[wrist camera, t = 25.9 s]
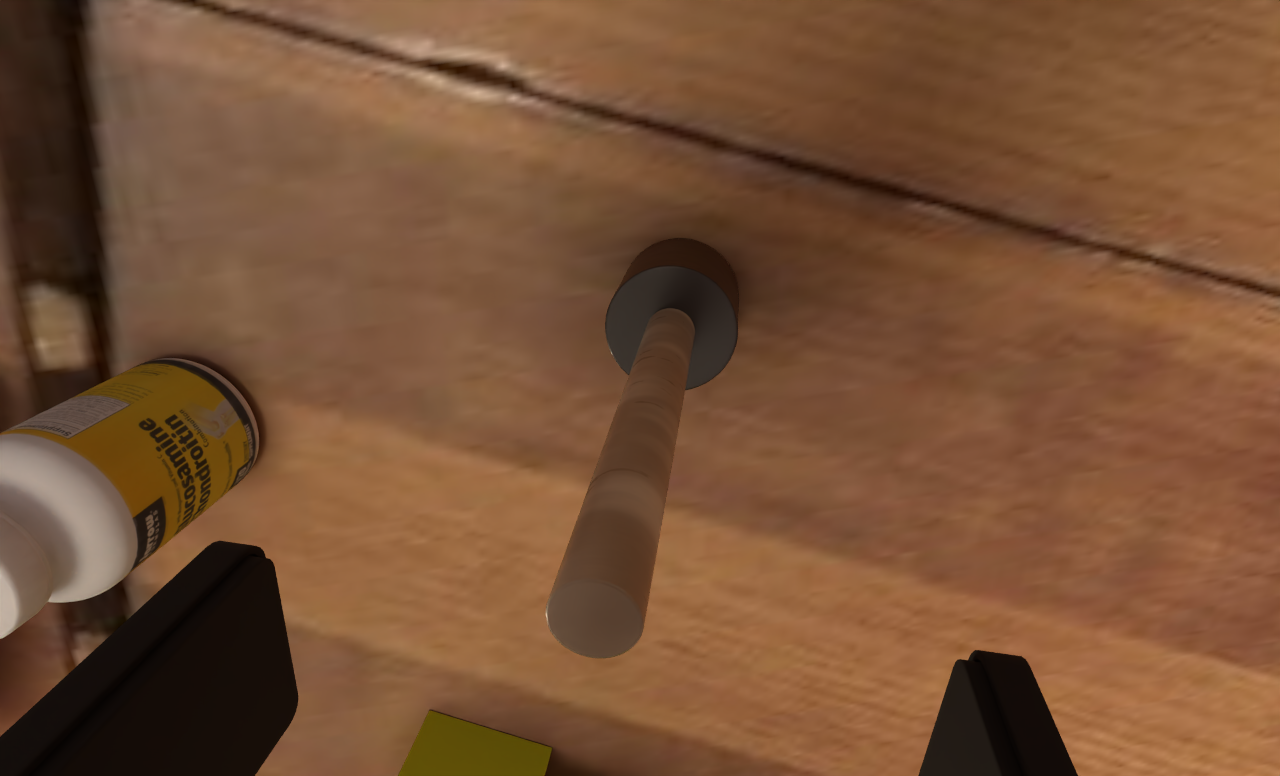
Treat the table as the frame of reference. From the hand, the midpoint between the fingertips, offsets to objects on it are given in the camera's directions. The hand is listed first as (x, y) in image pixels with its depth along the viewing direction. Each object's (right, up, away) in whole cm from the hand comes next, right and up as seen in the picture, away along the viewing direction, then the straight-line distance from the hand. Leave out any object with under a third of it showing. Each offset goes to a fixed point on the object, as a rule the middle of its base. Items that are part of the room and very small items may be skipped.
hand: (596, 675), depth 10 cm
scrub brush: (+2, +7, +18) cm, 20 cm away
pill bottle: (-19, +3, +23) cm, 30 cm away
